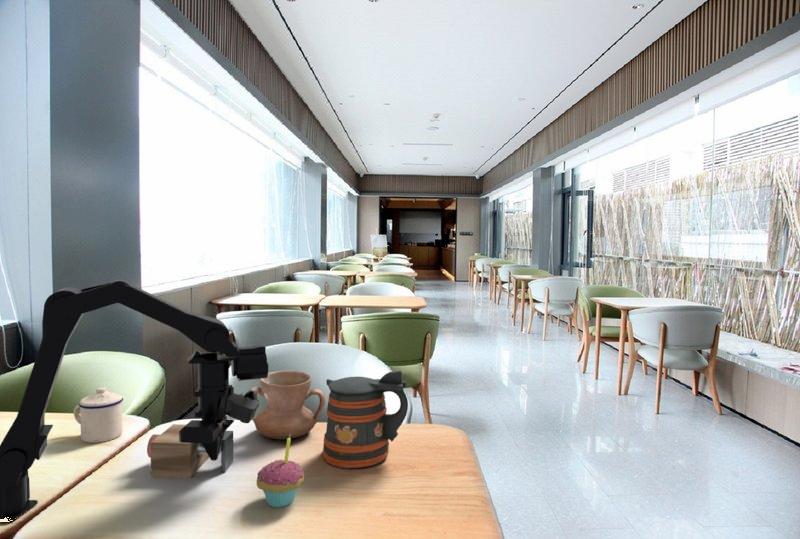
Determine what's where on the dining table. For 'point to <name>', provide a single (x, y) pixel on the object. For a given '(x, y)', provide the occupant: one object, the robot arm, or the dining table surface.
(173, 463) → the hitch block
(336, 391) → the beer stein
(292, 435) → the ceramic jug
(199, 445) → the pin
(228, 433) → the bracket
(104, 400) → the teacup with lid
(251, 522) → the dining table surface
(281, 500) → the cupcake
